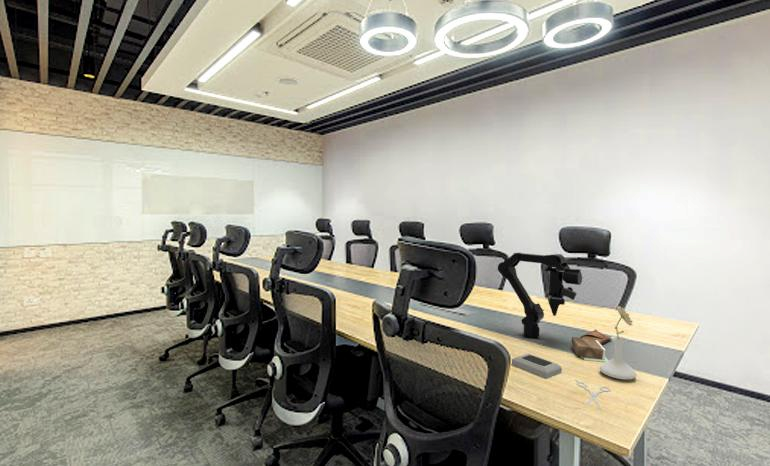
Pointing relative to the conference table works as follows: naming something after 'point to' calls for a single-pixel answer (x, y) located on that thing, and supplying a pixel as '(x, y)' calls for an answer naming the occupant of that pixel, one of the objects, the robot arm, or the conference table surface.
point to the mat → (593, 359)
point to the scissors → (593, 395)
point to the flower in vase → (619, 354)
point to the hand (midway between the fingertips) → (554, 315)
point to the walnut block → (588, 348)
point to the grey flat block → (537, 365)
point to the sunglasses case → (596, 337)
